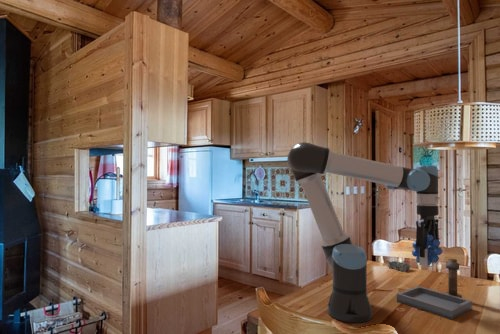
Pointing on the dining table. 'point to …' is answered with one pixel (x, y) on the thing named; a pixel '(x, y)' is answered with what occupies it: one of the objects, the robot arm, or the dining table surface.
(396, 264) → the egg carton
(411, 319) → the dining table surface
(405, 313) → the dining table surface
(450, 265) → the post
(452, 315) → the holder tray
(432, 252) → the grapes
